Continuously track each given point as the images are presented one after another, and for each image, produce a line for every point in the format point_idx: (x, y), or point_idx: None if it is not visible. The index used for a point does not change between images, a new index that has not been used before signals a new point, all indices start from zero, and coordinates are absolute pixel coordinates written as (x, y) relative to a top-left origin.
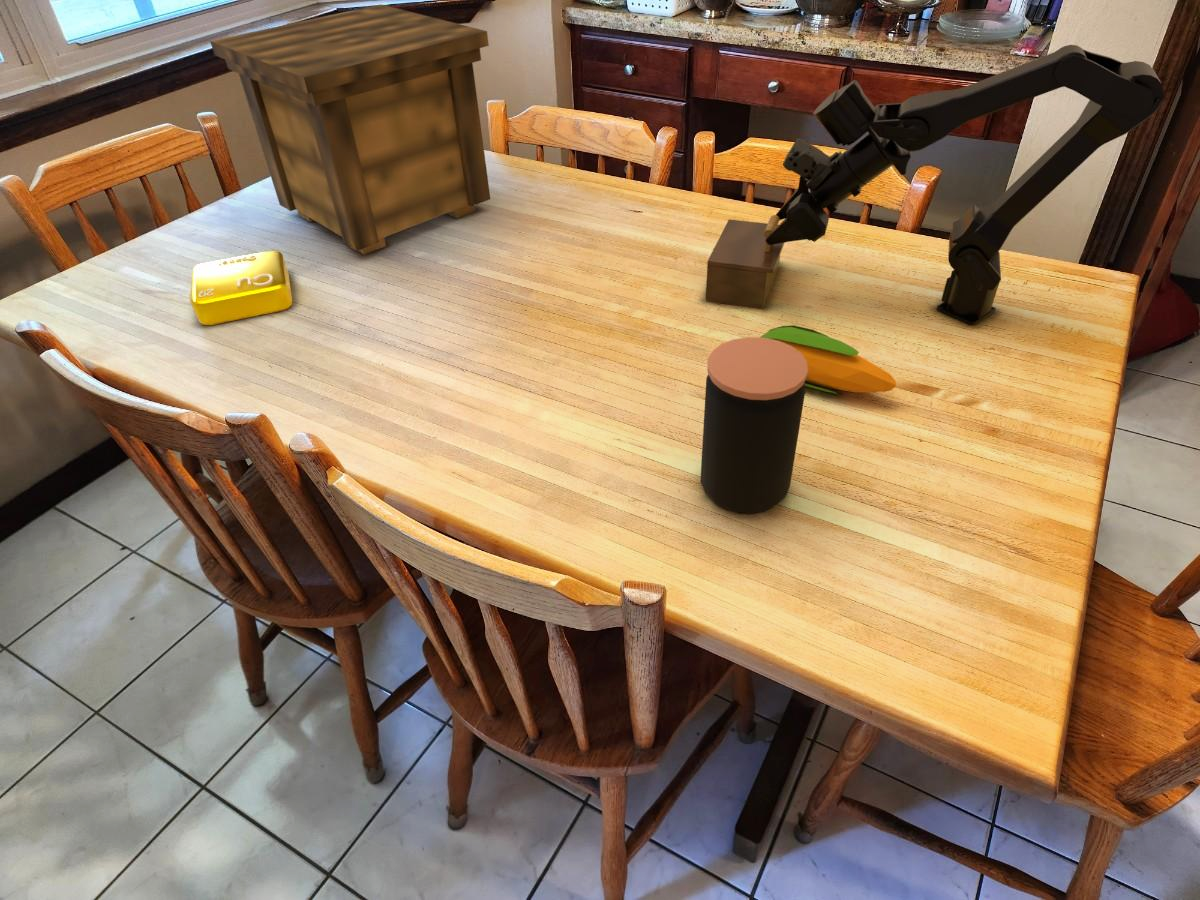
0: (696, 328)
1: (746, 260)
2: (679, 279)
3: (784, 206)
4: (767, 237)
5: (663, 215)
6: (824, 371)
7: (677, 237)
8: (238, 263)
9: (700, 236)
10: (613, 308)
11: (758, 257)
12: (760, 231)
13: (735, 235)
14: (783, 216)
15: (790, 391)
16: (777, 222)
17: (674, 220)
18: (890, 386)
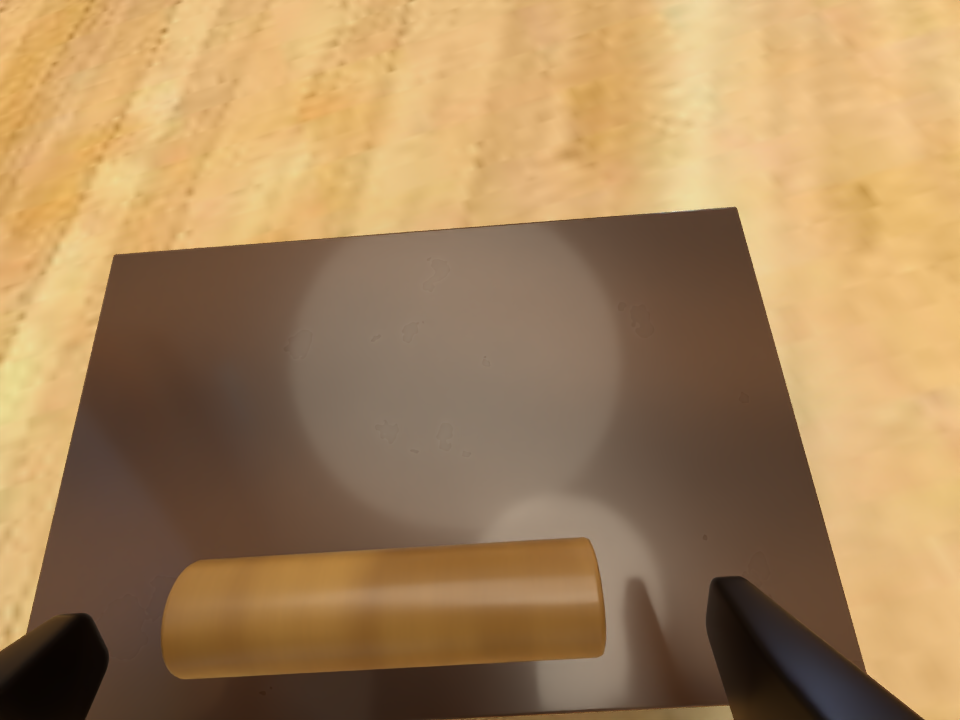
0: (24, 391)
1: (136, 483)
2: (402, 217)
3: (798, 708)
4: (28, 639)
5: (910, 8)
6: None
7: (751, 105)
8: None
9: (811, 176)
10: (149, 100)
11: (187, 560)
12: (640, 461)
13: (507, 310)
14: (729, 683)
15: None
16: (474, 660)
17: (893, 52)
18: None
